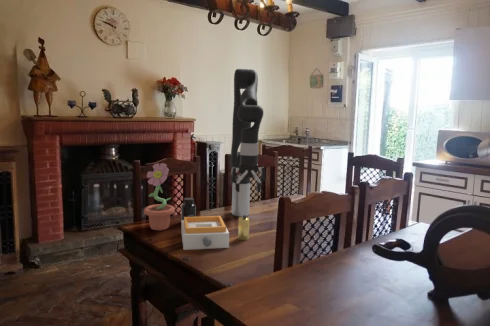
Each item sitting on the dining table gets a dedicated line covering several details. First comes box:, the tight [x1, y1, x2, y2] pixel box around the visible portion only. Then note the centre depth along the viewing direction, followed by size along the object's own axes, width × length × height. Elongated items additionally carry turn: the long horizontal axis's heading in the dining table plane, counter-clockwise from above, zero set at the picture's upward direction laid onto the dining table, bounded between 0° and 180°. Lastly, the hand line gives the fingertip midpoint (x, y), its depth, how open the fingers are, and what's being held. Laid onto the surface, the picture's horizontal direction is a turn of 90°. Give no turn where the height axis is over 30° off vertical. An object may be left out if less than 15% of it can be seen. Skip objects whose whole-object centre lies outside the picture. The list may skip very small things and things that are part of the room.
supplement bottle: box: [180, 197, 197, 221], centre depth 182 cm, size 7×7×12 cm
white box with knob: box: [180, 215, 230, 251], centre depth 158 cm, size 23×18×8 cm
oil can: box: [237, 215, 250, 241], centre depth 163 cm, size 5×5×10 cm
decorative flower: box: [143, 162, 176, 231], centre depth 172 cm, size 15×14×30 cm
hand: (247, 191), depth 160 cm, fingers open, 8 cm apart
